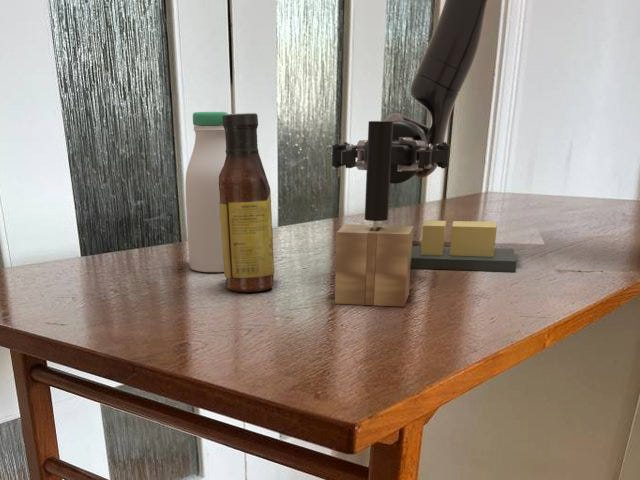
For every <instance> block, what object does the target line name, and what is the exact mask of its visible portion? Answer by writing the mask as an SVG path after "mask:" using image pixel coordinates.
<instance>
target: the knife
mask: <svg viewBox="0 0 640 480" xmlns="http://www.w3.org/2000/svg"><path fill="white" fill-rule="evenodd" d="M367 127H368V129H367V140H368V149H367V170H366V173H365V174H366V175H365V200H364V201H365V202H364V204H365V205H364V220H365V221H369V222H373V224H372V225H373V231H378V225H380V223H379V222H381V221H382V222H384V221H388V220H389V205H390V189H391V188H390V187H391V186H390V185H391V183H390V171H391V152H392V133H393V121H384V120H368V126H367Z"/></svg>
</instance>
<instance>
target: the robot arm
mask: <svg viewBox="0 0 640 480" xmlns="http://www.w3.org/2000/svg"><path fill="white" fill-rule="evenodd" d="M487 4H488V0H444V4H443V6H442V10H441V12H440V16H439V18H438V21H437V24H436V25H435V29H434V31H433V34H432V35H431V37H430V41H429V43H428V45H427V47H426V50H425V52H424V54H423V57H422V59H421V61H420V63H419V66H418V68H417V70H416V73H415V75H414V77H413V79H412V82H411V84H410V87H409V94H410V97H412V99H413V100H415V102H417V103H418V104H420V105H421V106H422V107H423V108H424V109H425V110H426V111H427V112H428V114H429V115H430V119H431V121H430V126H428V125H425V124H423V123H421V122H419V121H417V120H415V119H412V118H411V117H408V116H406V115H404V114H401V113H399V112H398V113H397V112H395V113H392V114H389V115H388V116H387V117H386V118H385V119H384V120H383V121H393V133H392V152H391V171H390V185H392V184H393V185H397V184H402V183H405V182H407V181H409V180H411V179H412V178H413V177H416V178H418V179H422V178H426V177H428V176H430V175H431V174H432V173H434V172H435V170H436V169H438V168H440V169H446V168H449V155H450V150H451V144H450V143H449V142H446V141H445V140H446V135H447V130H448V126H449V121H450V118H451V115H452V111H453V109H454V106H455V104H456V101H457V99H458V97H459V94H460V93H461V90H462V88H463V85H464V83H465V82H466V80H467V77H468V75H469V73H470V71H471V69H472V66H473V64H474V62H475V59H476V57H477V53H478V51H479V46H480V42H481V37H482V32H483V26H484V20H485V14H486V9H487ZM367 149H368V139H360V140H358V141H357V144H353V143H350V142H349V143H348V142H347V141H345V142H342V143H335V144H332V145H331V152H332V153H331V167H334V168H336V169H338V168H339V167H345V169H353V168H356V169H357V170H359V171H367Z"/></svg>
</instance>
